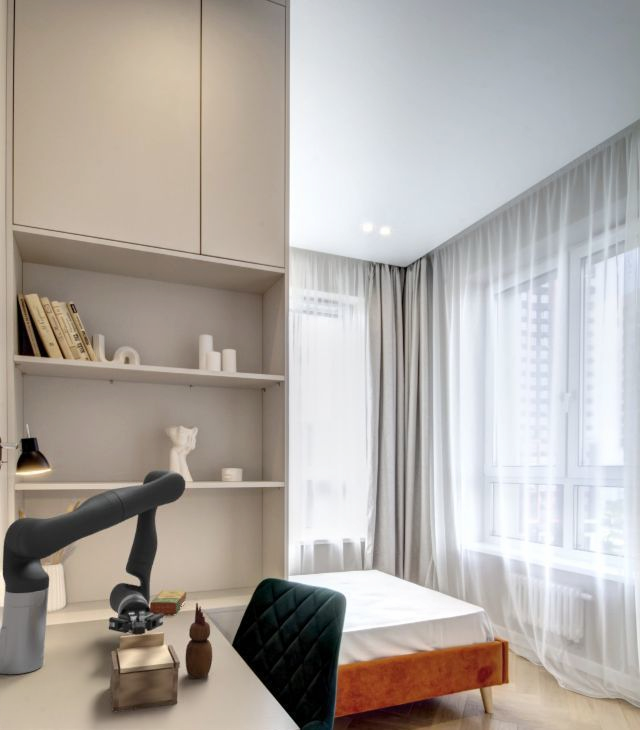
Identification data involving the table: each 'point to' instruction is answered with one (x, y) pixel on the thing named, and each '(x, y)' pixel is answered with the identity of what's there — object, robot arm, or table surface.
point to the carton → (167, 602)
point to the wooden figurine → (199, 647)
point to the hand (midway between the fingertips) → (139, 631)
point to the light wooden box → (143, 685)
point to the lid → (143, 653)
